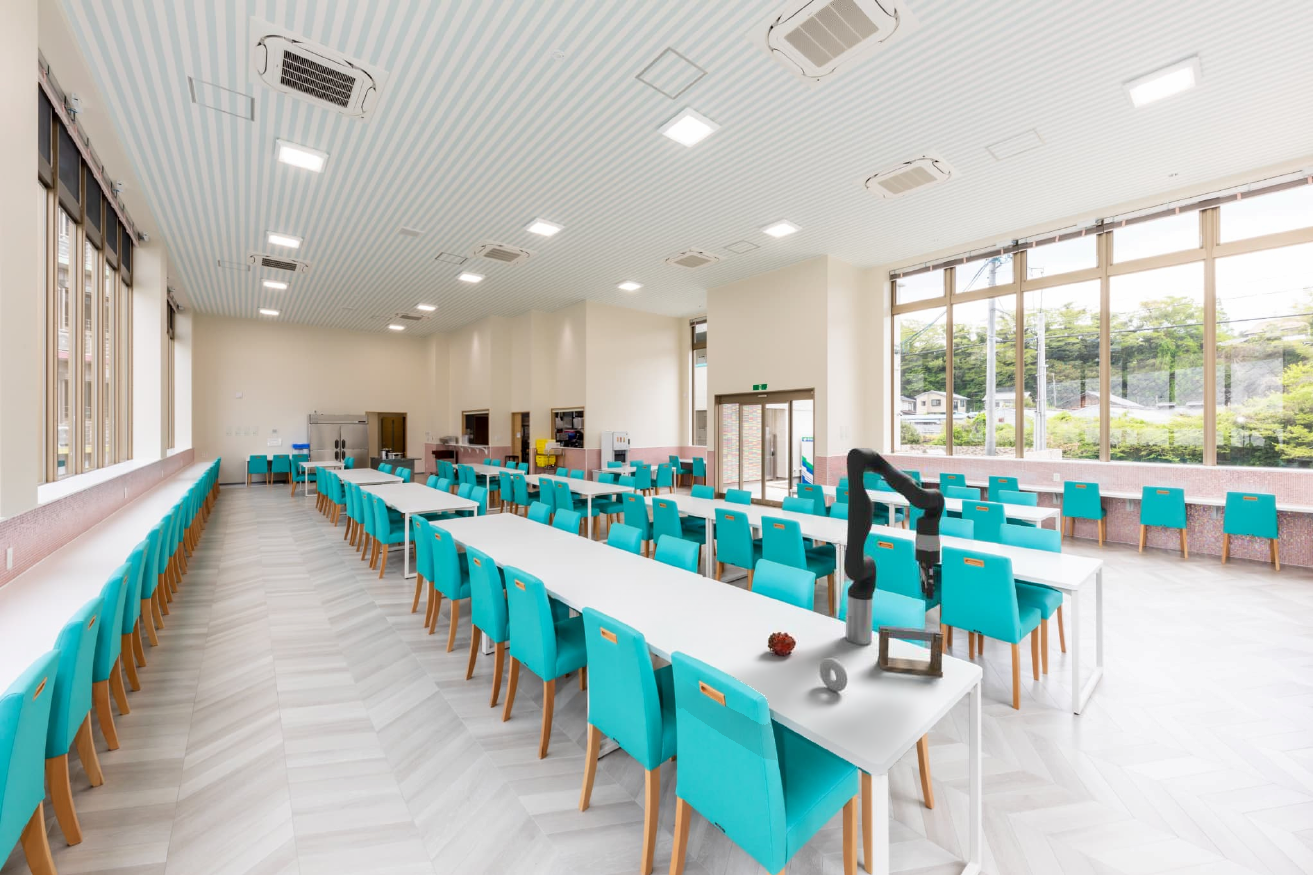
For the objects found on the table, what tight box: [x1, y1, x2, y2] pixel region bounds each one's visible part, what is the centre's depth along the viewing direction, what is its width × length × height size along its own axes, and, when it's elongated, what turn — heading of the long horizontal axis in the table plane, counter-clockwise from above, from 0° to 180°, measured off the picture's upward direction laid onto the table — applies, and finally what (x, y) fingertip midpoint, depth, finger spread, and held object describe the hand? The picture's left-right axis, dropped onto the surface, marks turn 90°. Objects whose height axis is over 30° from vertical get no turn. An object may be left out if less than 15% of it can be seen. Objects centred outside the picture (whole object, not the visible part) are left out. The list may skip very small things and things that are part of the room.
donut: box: [819, 657, 848, 693], centre depth 169 cm, size 10×4×10 cm, turn 30°
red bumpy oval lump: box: [767, 631, 797, 657], centre depth 196 cm, size 8×8×12 cm
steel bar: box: [878, 625, 944, 644], centre depth 186 cm, size 20×3×3 cm, turn 78°
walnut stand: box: [877, 630, 944, 677], centre depth 186 cm, size 19×8×13 cm, turn 78°
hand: (927, 595), depth 181 cm, fingers open, 8 cm apart
